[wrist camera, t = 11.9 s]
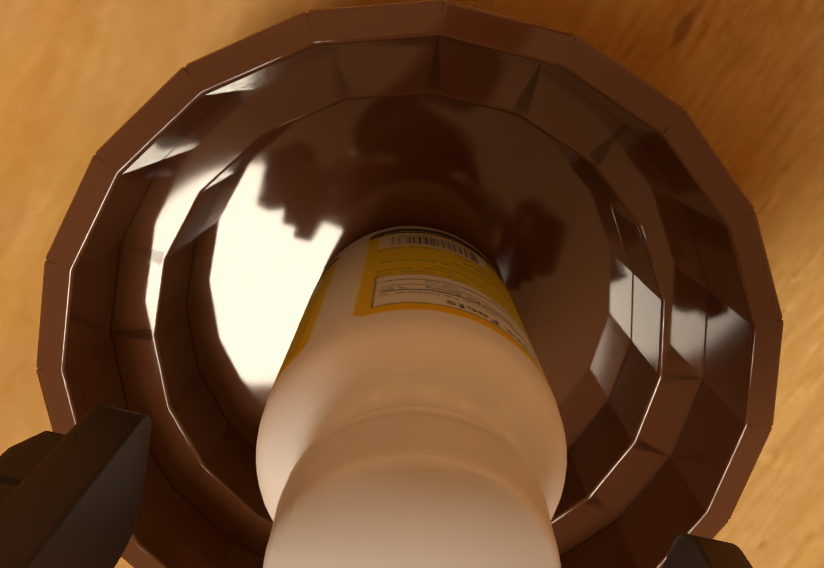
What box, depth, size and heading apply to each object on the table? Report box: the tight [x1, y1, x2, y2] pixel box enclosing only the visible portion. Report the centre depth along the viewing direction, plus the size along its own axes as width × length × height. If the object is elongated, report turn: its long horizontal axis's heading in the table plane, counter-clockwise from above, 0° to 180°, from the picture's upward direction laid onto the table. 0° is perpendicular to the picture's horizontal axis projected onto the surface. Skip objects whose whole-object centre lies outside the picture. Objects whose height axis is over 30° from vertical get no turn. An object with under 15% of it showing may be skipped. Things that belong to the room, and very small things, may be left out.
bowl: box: [37, 0, 783, 568], centre depth 16 cm, size 15×15×5 cm
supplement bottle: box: [256, 226, 567, 568], centre depth 13 cm, size 5×5×10 cm
